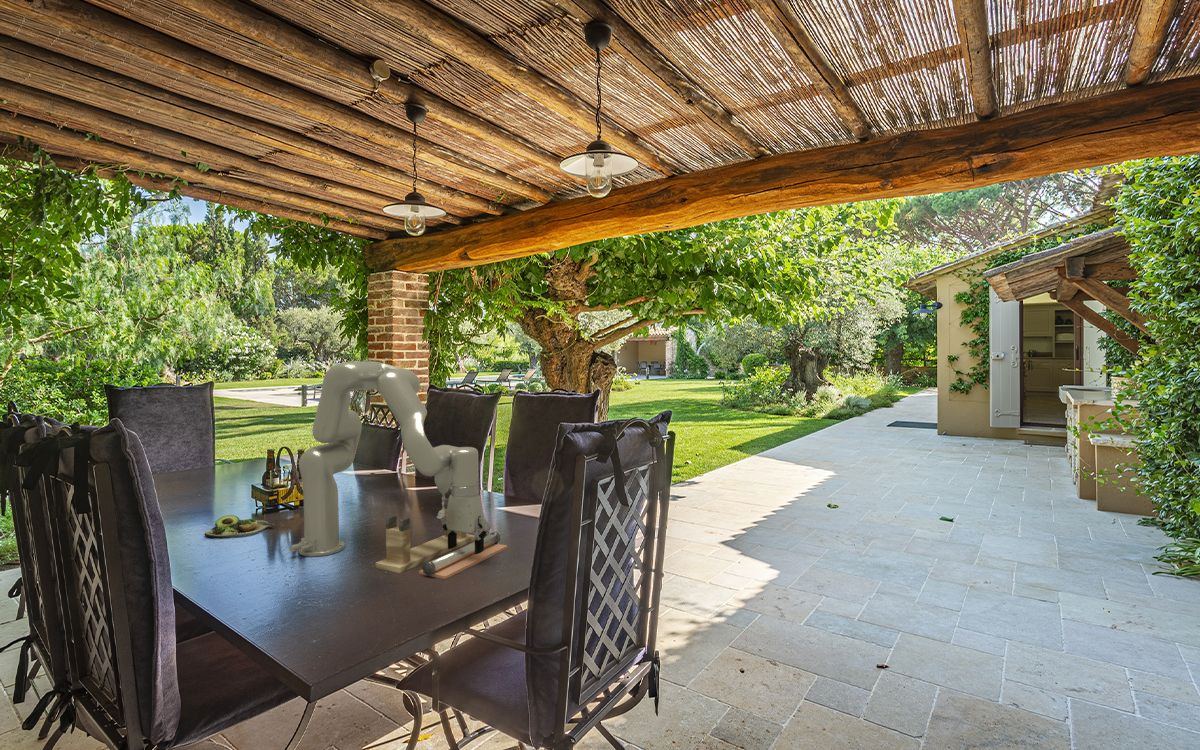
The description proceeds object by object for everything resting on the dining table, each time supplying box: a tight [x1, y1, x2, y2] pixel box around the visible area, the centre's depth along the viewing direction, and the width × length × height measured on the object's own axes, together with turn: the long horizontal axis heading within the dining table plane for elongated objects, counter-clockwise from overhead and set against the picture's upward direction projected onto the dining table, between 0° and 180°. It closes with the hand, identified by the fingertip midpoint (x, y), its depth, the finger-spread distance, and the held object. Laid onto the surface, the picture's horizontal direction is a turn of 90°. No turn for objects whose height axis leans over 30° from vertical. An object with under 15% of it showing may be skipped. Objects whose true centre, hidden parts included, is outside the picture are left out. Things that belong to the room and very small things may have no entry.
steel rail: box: [421, 531, 502, 577], centre depth 173 cm, size 30×4×4 cm, turn 153°
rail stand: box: [375, 497, 476, 574], centre depth 179 cm, size 32×9×14 cm, turn 153°
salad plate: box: [204, 514, 276, 539], centre depth 203 cm, size 19×18×5 cm
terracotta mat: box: [418, 543, 509, 580], centre depth 173 cm, size 28×9×1 cm, turn 153°
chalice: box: [434, 470, 452, 520], centre depth 218 cm, size 7×7×18 cm
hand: (465, 550), depth 173 cm, fingers open, 9 cm apart
